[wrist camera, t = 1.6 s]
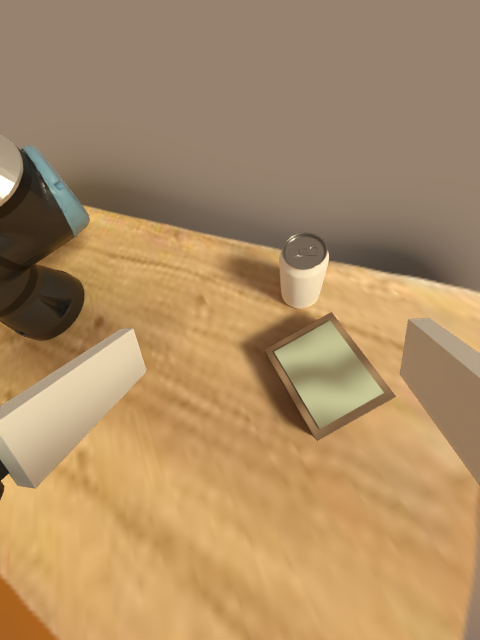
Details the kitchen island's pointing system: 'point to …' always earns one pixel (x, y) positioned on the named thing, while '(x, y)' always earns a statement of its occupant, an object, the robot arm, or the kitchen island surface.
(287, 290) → the can
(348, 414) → the plinth
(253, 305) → the kitchen island surface
